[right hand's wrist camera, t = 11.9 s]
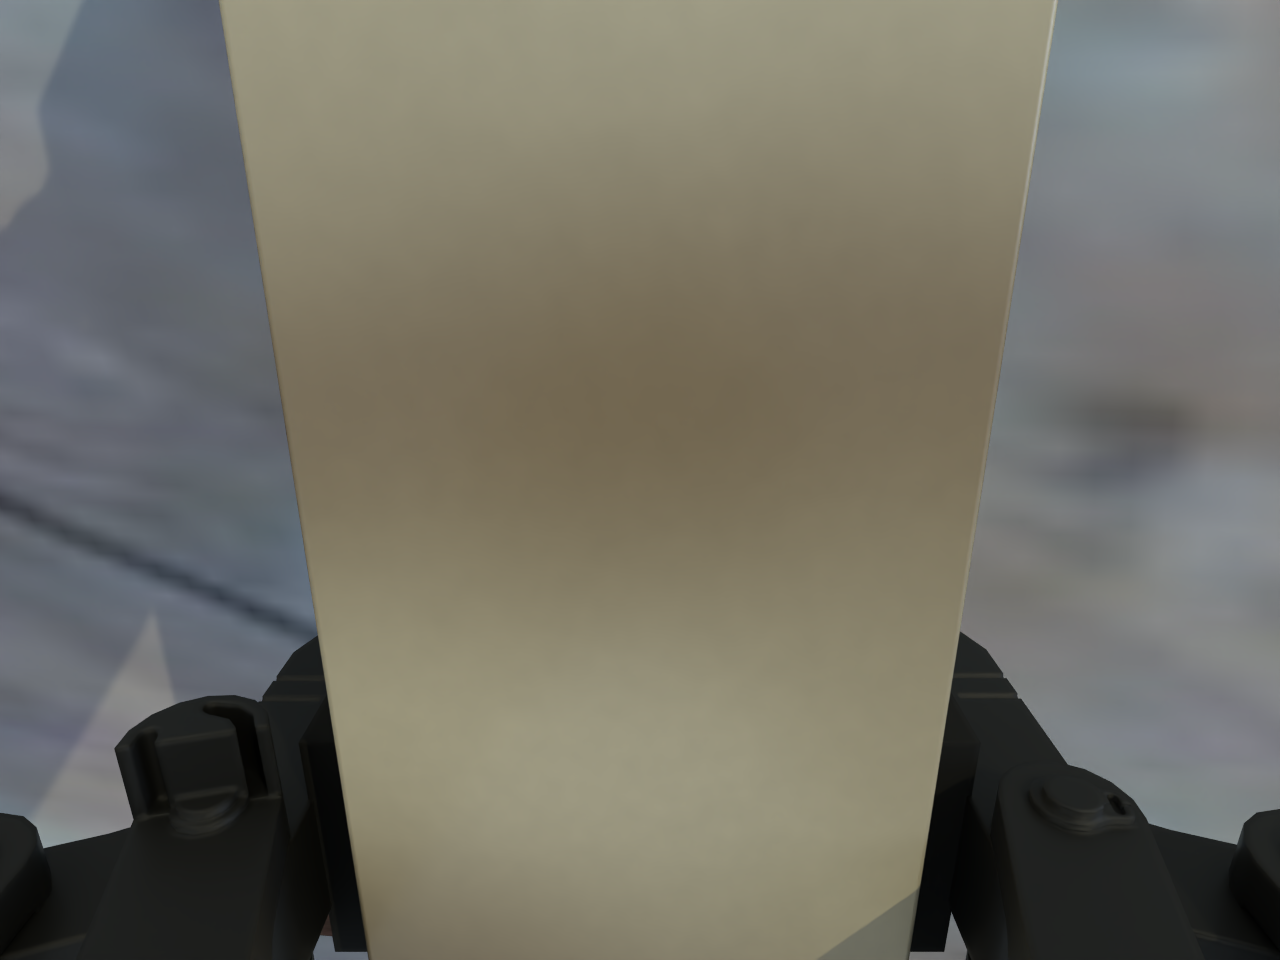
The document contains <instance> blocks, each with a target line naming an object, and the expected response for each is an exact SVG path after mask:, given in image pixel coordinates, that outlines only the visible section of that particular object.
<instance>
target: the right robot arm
mask: <svg viewBox="0 0 1280 960" xmlns="http://www.w3.org/2000/svg"><path fill="white" fill-rule="evenodd" d="M114 749H115V753H116V756H117V760H118V764H119V767H120V771H121V775H122V778H123V782H124V786H125V790H126V793H127V797H128V801H129V804H130V808H131V812H132V815H133V819H134V820H133V823H132V825H131V827H130V828H127V829H123V830H120V831H116V832H113V833H110V834H105V835H101V836H96V837H92V838H87V839H83V840H79V841H74V842H70V843H65V844H61V845H56V846H52V847H47V848H43V846H42V843H41V840H40V837H39V834H38V831H37V828H36V827H35V826H34V825H33V824H32V823H31V822H30V821H28V820H27V819H26V818H25V817H24V816H18V815H11V814H5V813H0V960H314V955H313V951H314V948H315V946H316V943H317V941H318V939H319V936H320V934H321V931H322V929H323V926H324V924H325V922H326V919H327V917H328V914H329V919H330V925H331V931H332V936H333V942H334V948H335V952H367V945H366V939H365V933H364V926H363V920H362V913H361V907H360V901H359V894H358V888H357V881H356V875H355V869H354V862H353V856H352V849H351V843H350V837H349V830H348V824H347V817H346V811H345V805H344V798H343V792H342V785H341V779H340V773H339V766H338V760H337V753H336V747H335V741H334V734H333V728H332V722H331V715H330V709H329V702H328V696H327V690H326V683H325V677H324V670H323V664H322V658H321V651H320V645H319V638H318V636H316V637H315V638H313V639H312V640H311V641H309V642H308V643H306V644H305V645H303V646H302V647H301V648H299V649H298V650H296V651H295V652H294V653H293V654H292V655H291V657H290V658H289V660H288V661H287V662H286V664H285V665H284V667H283V668H282V670H281V671H280V672H279V674H278V675H277V680H276V681H273V682H272V684H271V685H270V687H269V688H268V689H267V691H266V692H265V694H264V695H263V700H262V702H257V701H255V700H252V699H248V698H244V697H240V696H236V695H225V696H206V697H202V698H198V699H194V700H189V701H185V702H181V703H178V704H176V705H173V706H171V707H169V708H166V709H164V710H162V711H159V712H157V713H155V714H152V715H151V716H149V717H148V718H146V719H145V720H143V721H142V722H141V723H139V724H138V725H136V726H135V727H133V728H132V729H130V730H129V731H128V732H127V733H126V735H125V736H124V737H123V738H122V740H121V741H120V742H119V743H118V745H117V746H116V747H115V748H114ZM951 912H952V914H953V917H954V919H955V921H956V924H957V926H958V929H959V931H960V933H961V936H962V938H963V941H964V943H965V945H966V948H967V955H966V960H1280V809H1277V810H1271V811H1264V812H1258V813H1256V814H1255V815H1253V816H1252V817H1251V818H1250V819H1249V820H1247V821H1246V822H1245V823H1244V825H1243V828H1242V831H1241V834H1240V837H1239V840H1238V844H1237V845H1235V844H1231V843H1226V842H1222V841H1217V840H1213V839H1208V838H1204V837H1200V836H1195V835H1191V834H1186V833H1182V832H1177V831H1173V830H1169V829H1165V828H1162V827H1159V826H1155V825H1152V824H1148V821H1147V819H1146V817H1145V816H1144V814H1143V813H1142V812H1141V810H1140V809H1139V807H1138V806H1137V804H1136V803H1135V801H1134V800H1133V799H1132V798H1131V797H1129V796H1128V795H1127V794H1126V793H1124V792H1123V791H1122V790H1121V789H1119V788H1118V787H1117V786H1115V785H1114V784H1113V783H1112V782H1110V781H1108V780H1106V779H1104V778H1102V777H1100V776H1098V775H1095V774H1093V773H1091V772H1089V771H1087V770H1085V769H1082V768H1078V767H1074V766H1070V765H1068V764H1067V763H1066V761H1065V760H1064V759H1063V757H1062V756H1061V754H1060V753H1059V752H1058V750H1057V749H1056V747H1055V746H1054V745H1053V743H1052V742H1051V740H1050V739H1049V737H1048V736H1047V735H1046V733H1045V732H1044V730H1043V729H1042V728H1041V726H1040V725H1039V723H1038V722H1037V721H1036V719H1035V718H1034V716H1033V715H1032V714H1031V712H1030V711H1029V709H1028V708H1027V706H1026V705H1025V704H1024V702H1023V701H1022V699H1018V697H1017V692H1016V691H1015V690H1014V688H1013V687H1012V685H1011V684H1010V682H1009V681H1008V680H1007V678H1003V673H1002V671H1001V670H1000V668H999V667H998V666H997V664H996V663H995V661H994V660H993V659H992V657H991V656H990V654H989V653H988V651H987V650H986V649H985V648H983V647H982V646H980V645H979V644H977V643H976V642H975V641H973V640H972V639H970V638H969V637H967V636H966V635H964V634H963V633H962V632H960V633H959V640H958V646H957V653H956V659H955V665H954V672H953V678H952V685H951V691H950V697H949V704H948V710H947V717H946V723H945V730H944V736H943V742H942V749H941V755H940V762H939V768H938V775H937V781H936V787H935V794H934V800H933V807H932V813H931V819H930V826H929V832H928V839H927V845H926V852H925V858H924V864H923V871H922V877H921V884H920V890H919V897H918V903H917V909H916V916H915V922H914V929H913V935H912V942H911V948H910V952H944V950H945V944H946V938H947V933H948V927H949V921H950V916H951Z"/></svg>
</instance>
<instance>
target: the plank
mask: <svg viewBox="0 0 1280 960" xmlns="http://www.w3.org/2000/svg"><path fill="white" fill-rule="evenodd" d="M1057 4H1058V0H219V5H220V11H221V18H222V24H223V31H224V37H225V43H226V50H227V56H228V63H229V69H230V75H231V82H232V88H233V95H234V101H235V107H236V114H237V120H238V127H239V133H240V139H241V146H242V152H243V158H244V165H245V171H246V178H247V184H248V190H249V197H250V203H251V210H252V216H253V222H254V229H255V235H256V242H257V248H258V254H259V261H260V267H261V274H262V280H263V286H264V293H265V299H266V306H267V312H268V318H269V325H270V331H271V338H272V344H273V350H274V357H275V363H276V370H277V376H278V382H279V389H280V395H281V402H282V408H283V414H284V421H285V427H286V434H287V440H288V446H289V453H290V459H291V466H292V472H293V478H294V485H295V491H296V498H297V504H298V510H299V517H300V523H301V530H302V536H303V542H304V549H305V555H306V562H307V568H308V574H309V581H310V587H311V594H312V600H313V606H314V613H315V619H316V626H317V632H318V638H319V645H320V651H321V658H322V664H323V670H324V677H325V683H326V690H327V696H328V702H329V709H330V715H331V722H332V728H333V734H334V741H335V747H336V753H337V760H338V766H339V773H340V779H341V785H342V792H343V798H344V805H345V811H346V817H347V824H348V830H349V837H350V843H351V849H352V856H353V862H354V869H355V875H356V881H357V888H358V894H359V901H360V907H361V913H362V920H363V926H364V933H365V939H366V945H367V952H368V958H369V960H909V954H910V948H911V942H912V935H913V929H914V922H915V916H916V909H917V903H918V897H919V890H920V884H921V877H922V871H923V864H924V858H925V852H926V845H927V839H928V832H929V826H930V819H931V813H932V807H933V800H934V794H935V787H936V781H937V775H938V768H939V762H940V755H941V749H942V742H943V736H944V730H945V723H946V717H947V710H948V704H949V697H950V691H951V685H952V678H953V672H954V665H955V659H956V653H957V646H958V640H959V633H960V627H961V620H962V614H963V608H964V601H965V595H966V588H967V582H968V575H969V569H970V563H971V556H972V550H973V543H974V537H975V531H976V524H977V518H978V511H979V505H980V498H981V492H982V486H983V479H984V473H985V466H986V460H987V453H988V447H989V441H990V434H991V428H992V421H993V415H994V408H995V402H996V396H997V389H998V383H999V376H1000V370H1001V364H1002V357H1003V351H1004V344H1005V338H1006V331H1007V325H1008V319H1009V312H1010V306H1011V299H1012V293H1013V286H1014V280H1015V274H1016V267H1017V261H1018V254H1019V248H1020V242H1021V235H1022V229H1023V222H1024V216H1025V209H1026V203H1027V197H1028V190H1029V184H1030V177H1031V171H1032V164H1033V158H1034V152H1035V145H1036V139H1037V132H1038V126H1039V120H1040V113H1041V107H1042V100H1043V94H1044V87H1045V81H1046V75H1047V68H1048V62H1049V55H1050V49H1051V42H1052V36H1053V30H1054V23H1055V17H1056V10H1057Z"/></svg>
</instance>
